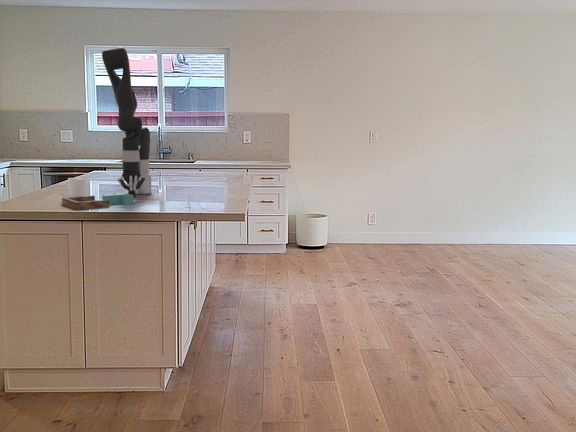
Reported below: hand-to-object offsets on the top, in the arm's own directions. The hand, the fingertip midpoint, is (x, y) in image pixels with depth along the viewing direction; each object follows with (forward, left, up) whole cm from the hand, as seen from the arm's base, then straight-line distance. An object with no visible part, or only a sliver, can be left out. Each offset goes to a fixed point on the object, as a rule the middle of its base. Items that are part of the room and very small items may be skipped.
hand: (131, 198), depth 279 cm
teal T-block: (+8, 0, -2) cm, 8 cm away
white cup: (+18, -19, -2) cm, 26 cm away
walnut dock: (+21, 0, -2) cm, 21 cm away
